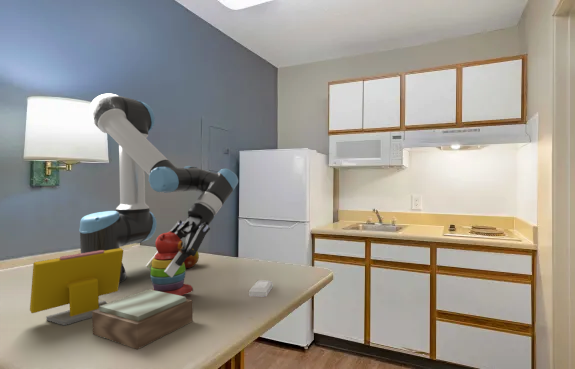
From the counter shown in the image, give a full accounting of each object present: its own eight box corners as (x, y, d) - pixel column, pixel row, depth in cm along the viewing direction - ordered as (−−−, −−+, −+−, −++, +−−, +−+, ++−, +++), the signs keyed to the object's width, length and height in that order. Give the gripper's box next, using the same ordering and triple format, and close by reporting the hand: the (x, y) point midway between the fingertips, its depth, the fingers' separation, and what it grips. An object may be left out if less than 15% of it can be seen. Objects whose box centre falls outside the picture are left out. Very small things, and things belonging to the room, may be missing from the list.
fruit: (168, 269, 130) (168, 248, 130) (182, 263, 139) (182, 244, 139) (190, 270, 127) (190, 249, 127) (203, 264, 136) (202, 245, 136)
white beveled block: (249, 297, 97) (248, 288, 97) (257, 287, 106) (257, 279, 106) (265, 298, 96) (265, 289, 96) (272, 288, 105) (272, 279, 105)
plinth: (92, 334, 75) (92, 307, 75) (150, 310, 88) (149, 287, 88) (137, 349, 67) (136, 319, 67) (192, 321, 80) (192, 296, 80)
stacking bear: (176, 302, 90) (174, 235, 90) (142, 300, 92) (140, 235, 92) (195, 289, 100) (194, 229, 100) (164, 288, 102) (162, 229, 102)
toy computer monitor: (116, 300, 96) (114, 245, 96) (129, 306, 91) (127, 248, 91) (30, 324, 81) (28, 258, 81) (40, 333, 76) (38, 262, 76)
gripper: (234, 219, 101) (190, 286, 89) (191, 215, 115) (147, 272, 103) (220, 202, 97) (171, 270, 85) (177, 200, 111) (129, 258, 99)
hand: (158, 271), depth 94 cm, fingers closed on stacking bear, 9 cm apart
